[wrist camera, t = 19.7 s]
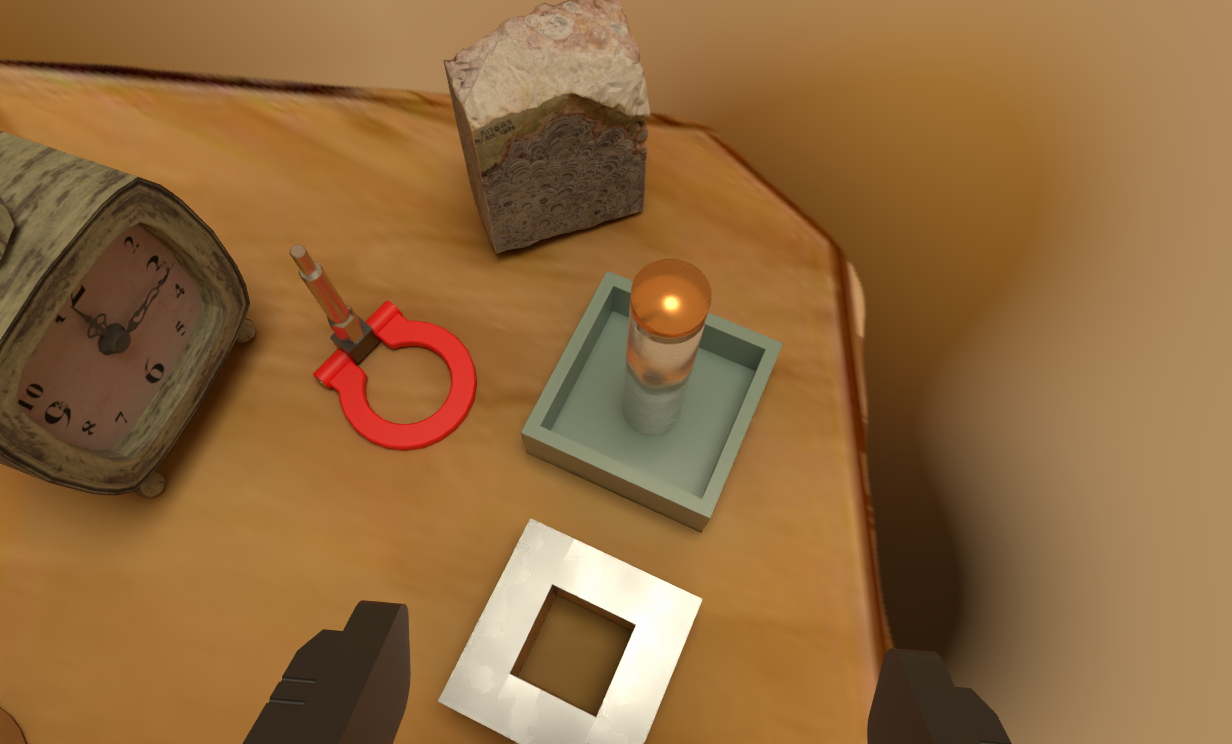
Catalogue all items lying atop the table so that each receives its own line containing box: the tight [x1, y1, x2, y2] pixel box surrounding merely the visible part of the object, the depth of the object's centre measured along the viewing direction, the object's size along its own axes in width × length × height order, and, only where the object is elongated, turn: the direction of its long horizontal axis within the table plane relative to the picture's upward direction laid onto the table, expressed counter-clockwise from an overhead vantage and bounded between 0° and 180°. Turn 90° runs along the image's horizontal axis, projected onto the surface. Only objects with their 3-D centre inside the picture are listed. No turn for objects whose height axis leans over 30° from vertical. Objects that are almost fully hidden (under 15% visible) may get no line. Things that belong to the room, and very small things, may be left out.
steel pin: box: [623, 259, 711, 436], centre depth 42 cm, size 4×4×15 cm
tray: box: [521, 271, 783, 532], centre depth 48 cm, size 12×12×4 cm
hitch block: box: [438, 518, 702, 744], centre depth 42 cm, size 10×10×4 cm
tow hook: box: [290, 245, 477, 451], centre depth 44 cm, size 8×13×9 cm
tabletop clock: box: [0, 131, 256, 498], centre depth 38 cm, size 14×9×25 cm, turn 160°
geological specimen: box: [444, 0, 650, 254], centre depth 48 cm, size 11×6×15 cm, turn 112°
